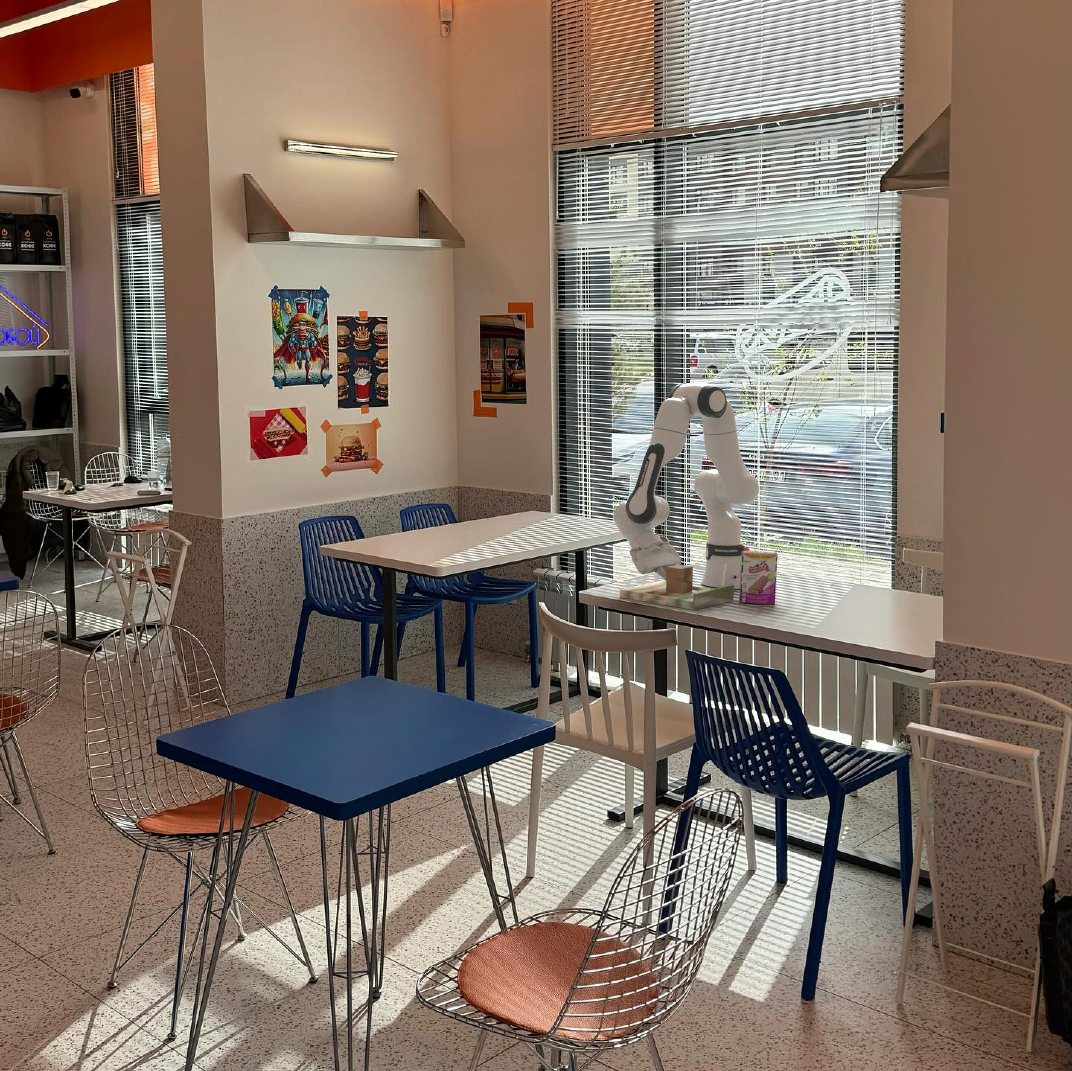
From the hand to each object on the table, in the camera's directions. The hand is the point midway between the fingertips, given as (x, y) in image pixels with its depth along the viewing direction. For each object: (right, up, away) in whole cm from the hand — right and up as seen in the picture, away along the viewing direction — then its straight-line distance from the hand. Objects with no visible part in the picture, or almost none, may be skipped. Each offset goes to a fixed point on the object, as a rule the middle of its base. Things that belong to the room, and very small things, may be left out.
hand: (670, 579), depth 401 cm
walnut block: (+3, -4, -2) cm, 5 cm away
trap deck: (+2, -6, -1) cm, 6 cm away
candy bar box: (+27, -7, -6) cm, 28 cm away
